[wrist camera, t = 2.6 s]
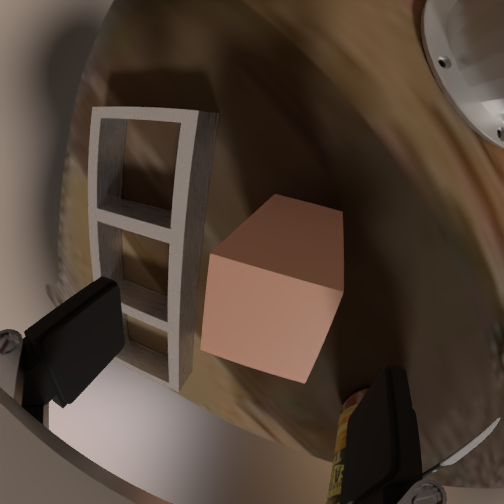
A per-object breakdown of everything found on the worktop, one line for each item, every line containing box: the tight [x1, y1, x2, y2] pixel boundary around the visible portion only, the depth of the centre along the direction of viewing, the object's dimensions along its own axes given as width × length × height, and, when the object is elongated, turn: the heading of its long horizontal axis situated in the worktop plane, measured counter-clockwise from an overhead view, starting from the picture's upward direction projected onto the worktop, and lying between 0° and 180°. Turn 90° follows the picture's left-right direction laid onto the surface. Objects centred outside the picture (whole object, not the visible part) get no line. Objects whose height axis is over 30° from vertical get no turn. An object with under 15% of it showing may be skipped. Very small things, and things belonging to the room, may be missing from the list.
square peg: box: [201, 194, 344, 383], centre depth 14 cm, size 4×4×10 cm
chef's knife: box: [423, 418, 500, 479], centre depth 23 cm, size 19×1×3 cm
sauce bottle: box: [326, 388, 369, 504], centre depth 14 cm, size 6×6×20 cm
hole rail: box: [88, 107, 220, 392], centre depth 22 cm, size 23×9×3 cm, turn 170°
